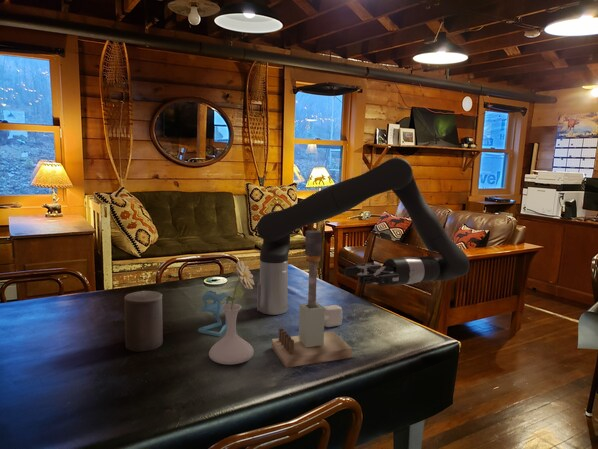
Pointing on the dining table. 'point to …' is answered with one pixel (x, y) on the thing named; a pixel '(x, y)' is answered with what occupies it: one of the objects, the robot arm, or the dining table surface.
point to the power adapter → (332, 316)
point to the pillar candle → (143, 321)
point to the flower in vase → (234, 326)
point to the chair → (214, 312)
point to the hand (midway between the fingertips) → (351, 275)
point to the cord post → (291, 347)
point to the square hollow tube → (311, 325)
